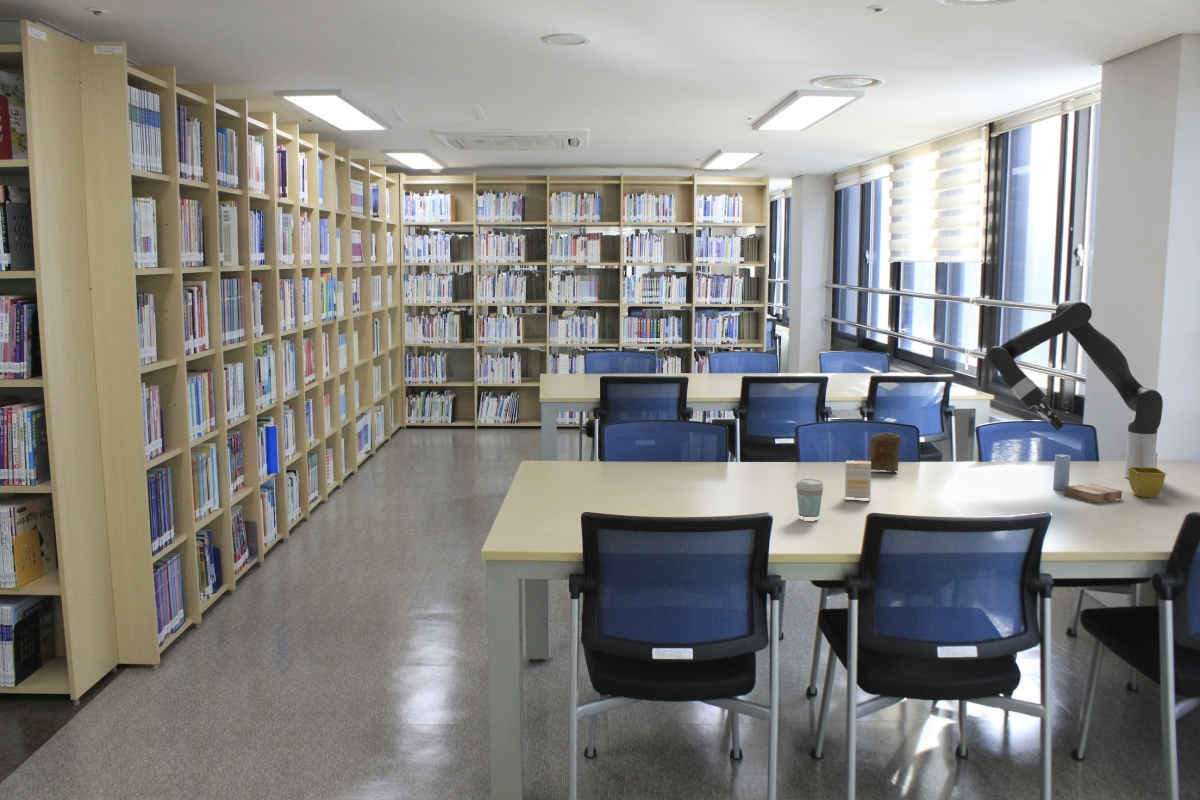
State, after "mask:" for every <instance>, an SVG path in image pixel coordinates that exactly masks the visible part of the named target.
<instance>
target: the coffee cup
mask: <svg viewBox="0 0 1200 800" xmlns="http://www.w3.org/2000/svg"><path fill="white" fill-rule="evenodd" d="M795 489H796V494H797V495H796V497H797V506H798V507H797V509H798V516H799V515H800V516H803V517H817V516H819V517H820V511H821V504H822V497H823V490H824V489H825V488H824V485H823V481H822V480H819V479H813V478H802V479H798V480H797V483H796V484H795Z"/></svg>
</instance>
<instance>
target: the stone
mask: <svg viewBox="0 0 1200 800" xmlns="http://www.w3.org/2000/svg"><path fill="white" fill-rule="evenodd" d="M901 442H902V437H901V436H900V435H899V434H896V433H894V432H885V431H884V432H883V431H882V432H879V433H875V434H872V435H871V436H870V445H869V452H868V461H871V471H880V470H886V471H885V472H890V471H892V472H891V473H896V472H895V471H897V472H898V471H899V459H900V458H899V454H900V451H899V450H900V447H901V444H902V443H901Z"/></svg>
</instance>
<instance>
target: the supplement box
mask: <svg viewBox="0 0 1200 800" xmlns="http://www.w3.org/2000/svg"><path fill="white" fill-rule="evenodd" d="M844 473H845V474H844V475H845V477H844V478H845V479H844V480H845V481H844V483H845V484H844V492H845V493H844V498H845V497H854V498H869V499H870V500H871V487H872V486H871V485H872V484H871V483H872V481H871V480H872V479H871V478H872V475H871V473H872V470H871V461H869V460H852V459H851V460H850V459H849V460H845V471H844Z"/></svg>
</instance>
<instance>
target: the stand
mask: <svg viewBox="0 0 1200 800" xmlns="http://www.w3.org/2000/svg"><path fill="white" fill-rule="evenodd" d="M1063 492H1064V493H1063V495H1064V496H1065V495H1066V497H1069V496H1070V498H1073V497H1074V498H1073V499H1077V498H1078V499H1077V500H1080V499H1082V500H1081V501H1084V500H1085V502H1088V501H1090V502H1089V503H1092V502H1093V503H1092V504H1097V503H1096V502H1101V503H1105V502H1104V501H1108V502H1111V501H1110V500H1116V499H1121V500H1122V497H1123V496H1122V495H1123V491H1122V490H1119V489H1115V488H1112V487H1111V488H1110V487H1107V486H1103V485H1099V484H1094V483H1084V484H1076V485H1069V486H1066V487H1065V491H1063ZM1116 501H1117V500H1116Z"/></svg>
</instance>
